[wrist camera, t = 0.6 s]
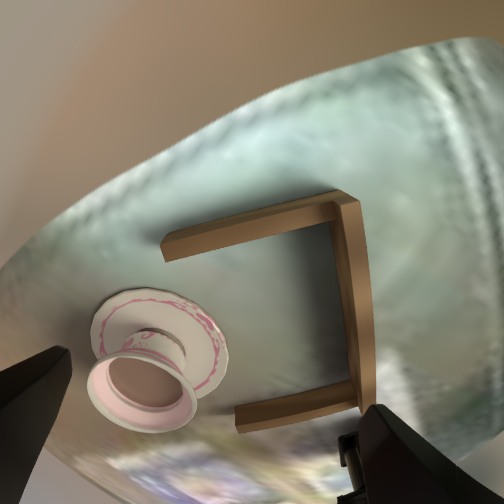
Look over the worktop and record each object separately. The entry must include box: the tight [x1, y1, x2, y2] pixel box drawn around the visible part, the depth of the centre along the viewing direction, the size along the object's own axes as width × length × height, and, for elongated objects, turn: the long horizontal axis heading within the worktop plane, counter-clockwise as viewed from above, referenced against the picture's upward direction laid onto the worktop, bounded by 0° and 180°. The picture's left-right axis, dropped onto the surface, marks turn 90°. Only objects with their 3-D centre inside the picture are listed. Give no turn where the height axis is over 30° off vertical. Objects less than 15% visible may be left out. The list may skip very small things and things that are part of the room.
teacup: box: [87, 288, 229, 433], centre depth 22 cm, size 12×12×6 cm
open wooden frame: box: [160, 190, 376, 434], centre depth 23 cm, size 18×12×4 cm, turn 14°
